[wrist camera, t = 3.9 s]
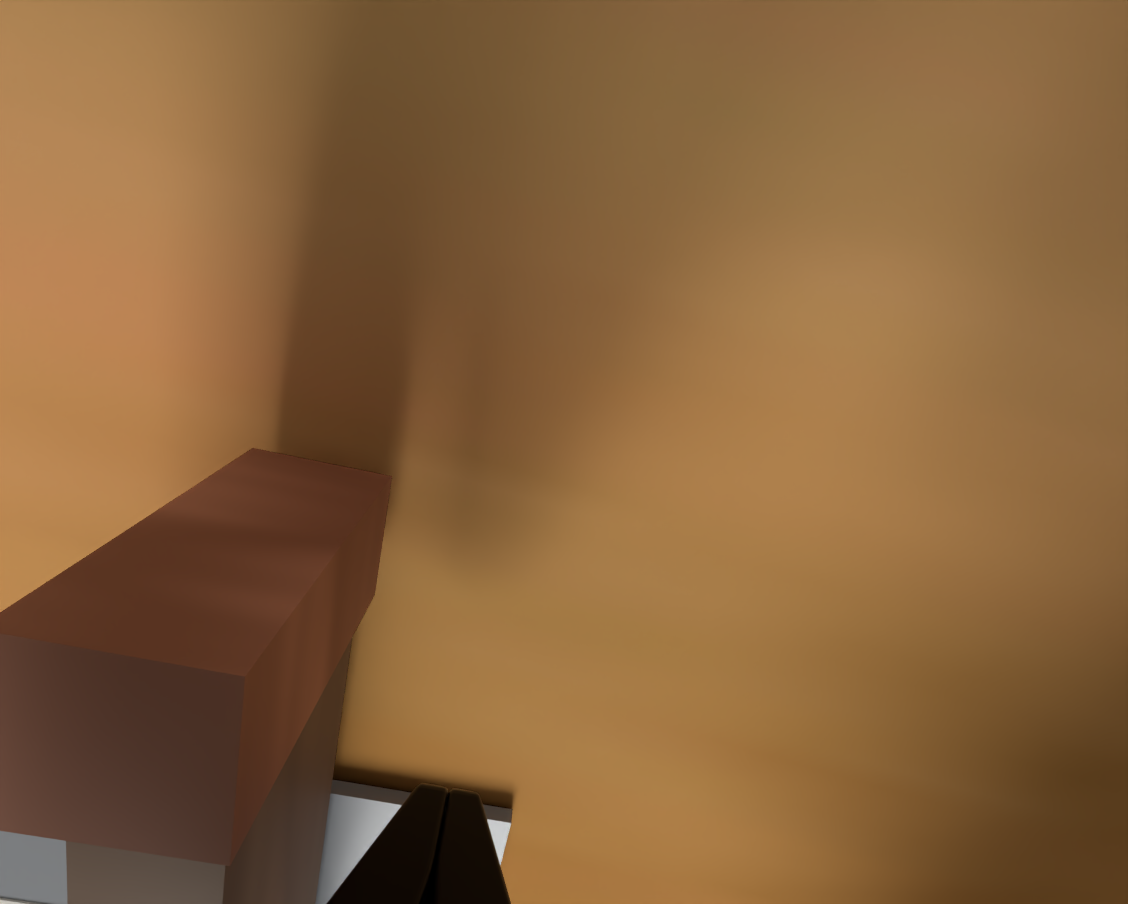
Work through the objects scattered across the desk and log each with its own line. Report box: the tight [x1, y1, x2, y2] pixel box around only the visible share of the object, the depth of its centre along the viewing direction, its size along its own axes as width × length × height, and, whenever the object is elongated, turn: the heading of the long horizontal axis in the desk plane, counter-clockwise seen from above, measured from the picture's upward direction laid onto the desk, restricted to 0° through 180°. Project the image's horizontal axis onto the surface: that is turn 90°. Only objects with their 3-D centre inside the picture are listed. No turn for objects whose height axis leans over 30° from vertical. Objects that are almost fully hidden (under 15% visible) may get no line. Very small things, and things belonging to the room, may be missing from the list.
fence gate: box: [0, 448, 392, 904], centre depth 9 cm, size 2×10×4 cm, turn 167°
